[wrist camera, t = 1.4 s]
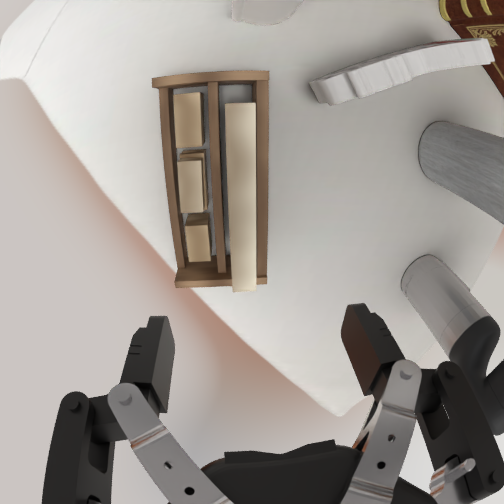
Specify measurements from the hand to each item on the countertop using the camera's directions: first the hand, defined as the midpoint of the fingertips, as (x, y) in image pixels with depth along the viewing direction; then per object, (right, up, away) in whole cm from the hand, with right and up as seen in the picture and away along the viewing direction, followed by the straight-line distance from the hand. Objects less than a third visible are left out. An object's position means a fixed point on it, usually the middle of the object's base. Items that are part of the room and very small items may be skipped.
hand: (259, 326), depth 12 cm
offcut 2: (-7, +6, +26) cm, 28 cm away
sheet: (-2, +13, +23) cm, 26 cm away
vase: (+29, +19, +22) cm, 41 cm away
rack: (-5, +13, +22) cm, 26 cm away
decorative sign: (+17, +28, +16) cm, 36 cm away
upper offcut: (-7, +11, +20) cm, 24 cm away
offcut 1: (-7, +19, +19) cm, 28 cm away
